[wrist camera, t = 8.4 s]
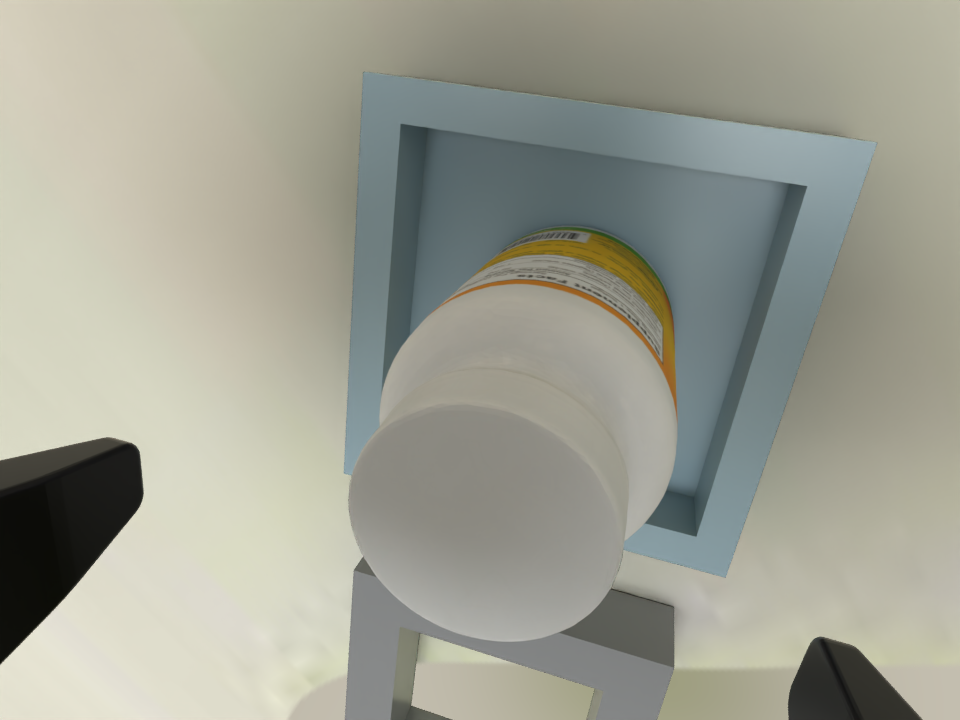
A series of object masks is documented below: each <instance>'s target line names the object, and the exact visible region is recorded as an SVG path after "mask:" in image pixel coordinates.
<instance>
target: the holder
mask: <svg viewBox="0 0 960 720" xmlns="http://www.w3.org/2000/svg"><path fill="white" fill-rule="evenodd" d="M419 633H422V634H425V635H428V636H431V637H435V638H438V639H441V640H444V641H447V642H450V643H453V644H457V645H460V646H463V647H466V648H469V649H472V650H475V651H478V652H482V653H485V654H488V655H491V656H494V657H497V658H500V659H504V660H507V661H510V662H513V663H516V664H519V665H522V666H526V667H529V668H532V669H535V670H538V671H542V672H544V673H548V674H551V675H554V676H557V677H560V678H563V679H566V680H570V681H573V682H576V683H579V684H582V685H585V686H589V687H592V688H595V690H594V694H593V698H592V701H591V705H590V709H589V712H588V716H587V720H657V718H658V715H659V712H660V709H661V706H662V703H663V700H664V697H665V694H666V691H667V688H668V685H669V682H670V679H671V676H672V673H673V670H674V607H671V606H668V605H664V604H661V603H657V602H654V601H650V600H647V599H643V598H640V597H636V596H633V595H629V594H626V593H622V592H619V591H615V590H612V589H610V590H609V592H608V593H607V595H606V596H605V598H604V599H603V600H602V601H601V603H600V604H599V605H598V606H597V607H596V608H595V609H594V610H593V611H592V612H591V613H590V614H589V615H588V616H586V617H585V618H584V619H582V620H581V621H579V622H578V623H577V624H575V625H574V626H572V627H570V628H568V629H565V630H563V631H561V632H558V633H555V634H553V635H550V636H547V637H543V638H539V639H534V640H528V641H516V642H501V641H490V640H483V639H478V638H473V637H469V636H465V635H461V634H458V633H455V632H452V631H450V630H447V629H445V628H442V627H440V626H438V625H436V624H434V623H432V622H430V621H428V620H426V619H425V618H423V617H421V616H420V615H418V614H417V613H415V612H414V611H412V610H411V609H409V608H408V607H407V606H406V605H404V604H403V603H402V602H401V601H399V600H398V599H397V598H396V597H395V596H394V595H393V594H392V593H391V592H390V591H389V590H388V589H387V588H386V587H385V586H384V585H383V584H382V583H381V581H380V580H379V579H378V578H377V577H376V575H375V574H374V572H373V571H372V569H371V568H370V566H369V565H368V563H367V562H366V560H365V559H364V557H363V558H362V559H361V561H360V562H359V564H358V565H357V566H356V568H355V569H354V576H353V593H352V610H351V626H350V643H349V660H348V677H347V694H346V710H345V720H451V719H448V718H445V717H443V716H440V715H437V714H434V713H431V712H428V711H425V710H422V709H419V708H416V707H413V706H411V701H412V694H413V685H414V676H415V668H416V659H417V651H418V642H419Z"/></svg>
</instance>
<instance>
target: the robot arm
mask: <svg viewBox="0 0 960 720" xmlns="http://www.w3.org/2000/svg"><path fill="white" fill-rule="evenodd" d="M143 494H144V490H143V479H142V469H141V459H140V452H139V450H138V448H137V447H136V446H135V445H134V444H132V443H129V442H126V441H122V440H119V439H115V438H108V437H106V438H101V439H96V440H92V441H87V442H82V443H78V444H73V445H69V446H64V447H60V448H55V449H51V450H46V451H42V452H37V453H32V454H28V455H23V456H19V457H14V458H10V459H5V460H1V461H0V664H1V663H2V662H3V661H4V660H5V659H6V658H7V657H8V656H9V655H10V654H11V653H12V652H13V651H14V650H15V649H16V648H17V647H18V646H19V645H20V644H21V643H22V642H23V641H24V640H25V639H26V638H27V637H28V636H29V635H30V634H31V633H32V632H33V631H34V630H35V629H36V628H37V627H38V626H39V625H40V624H41V623H42V622H43V621H44V620H45V619H46V617H47V616H48V615H49V614H50V613H51V612H52V611H53V610H54V609H55V608H56V607H57V606H58V605H59V604H60V603H61V602H62V601H63V600H64V598H65V597H66V596H67V595H68V594H69V593H70V591H71V590H72V589H73V588H74V587H75V586H76V584H77V583H78V582H79V581H80V580H81V578H82V577H83V576H84V575H85V574H86V572H87V571H88V570H89V569H90V567H91V566H92V565H93V564H94V563H95V561H96V560H97V559H98V558H99V557H100V555H101V554H102V553H103V552H104V550H105V549H106V548H107V547H108V546H109V544H110V543H111V542H112V541H113V539H114V538H115V537H116V536H117V535H118V533H119V532H120V531H121V530H122V528H123V527H124V526H125V525H126V524H127V522H128V521H129V520H130V519H131V518H132V516H133V515H134V514H135V513H136V511H137V510H138V508H139V507H140V505H141V502H142V499H143ZM788 715H789V720H922V718H921V717H920V716H919V715H918V714H917V713H916V712H915V711H914V710H913V709H912V707H911V706H910V705H909V704H908V703H907V702H906V701H905V700H904V699H903V698H902V697H901V695H900V694H899V693H898V692H897V691H896V690H895V689H894V688H893V687H892V686H891V684H890V683H889V682H888V681H887V680H886V679H885V678H884V677H883V676H882V675H881V674H880V672H879V671H878V670H877V669H876V668H875V667H874V666H873V665H872V664H871V663H870V661H869V660H868V659H867V658H866V657H865V656H864V655H863V654H862V653H861V652H860V651H859V650H858V649H857V648H856V647H854V646H852V645H850V644H846V643H843V642H839V641H836V640H832V639H828V638H825V637H817V638H815V639H814V640H813V641H812V642H811V643H810V645H809V647H808V649H807V651H806V654H805V656H804V658H803V661H802V663H801V665H800V667H799V670H798V672H797V674H796V677H795V679H794V681H793V683H792V686H791V689H790V693H789V701H788Z"/></svg>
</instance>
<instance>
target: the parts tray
mask: <svg viewBox="0 0 960 720" xmlns="http://www.w3.org/2000/svg"><path fill="white" fill-rule="evenodd" d="M876 146H877V142H871V141H866V140H860V139H855V138H849V137H843V136H835V135H828V134H821V133H813V132H806V131H799V130H792V129H784V128H777V127H770V126H763V125H755V124H748V123H741V122H734V121H726V120H719V119H712V118H705V117H697V116H690V115H683V114H675V113H668V112H661V111H654V110H646V109H639V108H632V107H625V106H617V105H610V104H603V103H596V102H588V101H581V100H574V99H567V98H559V97H552V96H545V95H537V94H530V93H523V92H516V91H508V90H501V89H494V88H487V87H479V86H472V85H465V84H458V83H450V82H443V81H436V80H429V79H421V78H414V77H407V76H398V75H389V74H380V73H371V72H363V90H362V111H361V131H360V152H359V173H358V193H357V214H356V235H355V255H354V276H353V296H352V317H351V338H350V358H349V379H348V400H347V420H346V441H345V462H344V474H348V475H351V476H352V473H353V469H354V466H355V463H356V461H357V459H358V457H359V455H360V453H361V451H362V449H363V447H364V446H365V444H366V443H367V441H368V440H369V439H370V438H371V436H372V435H373V434H374V433H375V431H376V430H377V429H378V428H379V427H380V422H379V415H380V402H381V396H382V391H383V387H384V383H385V380H386V377H387V374H388V371H389V369H390V367H391V365H392V362H393V360H394V358H395V357H396V355H397V353H398V352H399V350H400V348H401V347H402V345H403V344H404V343H405V342H406V340H407V339H408V338H409V336H410V335H411V334H412V333H413V332H414V331H415V329H416V328H417V327H418V326H419V325H420V324H421V323H422V322H423V321H424V319H425V318H426V317H427V316H428V315H429V314H431V313H432V312H433V311H434V310H435V309H436V308H437V307H439V306H440V305H441V304H442V303H443V302H444V301H445V300H447V299H448V298H449V297H450V296H451V295H452V294H453V293H454V292H455V291H457V290H458V289H459V288H460V287H461V286H462V285H463V284H464V283H465V282H467V281H468V280H469V279H470V278H471V277H472V276H473V275H474V274H475V273H477V272H478V271H479V270H480V269H481V268H482V267H483V266H484V265H485V264H486V263H487V262H488V261H490V260H491V259H492V258H493V257H494V256H495V255H496V254H498V253H499V252H500V251H501V250H502V249H504V248H505V247H506V246H508V245H509V244H511V243H512V242H514V241H516V240H517V239H519V238H521V237H523V236H525V235H527V234H529V233H532V232H534V231H537V230H540V229H544V228H548V227H554V226H583V227H590V228H594V229H598V230H601V231H605V232H608V233H610V234H612V235H615V236H617V237H618V238H620V239H622V240H624V241H625V242H627V243H628V244H630V245H631V246H633V247H634V248H635V249H636V250H637V251H639V252H640V253H641V254H642V255H643V256H644V257H645V258H646V259H647V260H648V261H649V263H650V264H651V265H652V266H653V268H654V269H655V270H656V272H657V273H658V275H659V277H660V278H661V280H662V282H663V284H664V286H665V288H666V291H667V293H668V296H669V299H670V303H671V308H672V313H673V321H674V337H675V370H676V397H677V418H678V423H677V446H676V457H675V463H674V468H673V472H672V475H671V478H670V481H669V484H668V487H667V489H666V492H665V494H664V496H663V498H662V499H661V501H660V503H659V505H658V506H657V508H656V509H655V511H654V512H653V513H652V515H651V516H650V517H649V518H648V520H647V521H646V522H645V523H644V524H643V526H642V527H641V528H639V529H638V530H637V531H636V532H635V533H634V534H633V535H632V536H630V537H629V538H628V539H627V540H625V541H624V547H623V550H626V551H630V552H633V553H637V554H641V555H644V556H648V557H652V558H655V559H659V560H663V561H666V562H670V563H674V564H677V565H681V566H685V567H688V568H692V569H696V570H699V571H703V572H707V573H710V574H714V575H718V576H721V577H725V578H726V575H727V572H728V569H729V566H730V563H731V561H732V558H733V555H734V552H735V549H736V546H737V543H738V540H739V538H740V535H741V532H742V529H743V526H744V523H745V520H746V518H747V515H748V512H749V509H750V506H751V503H752V500H753V498H754V495H755V492H756V489H757V486H758V483H759V480H760V478H761V475H762V472H763V469H764V466H765V463H766V460H767V458H768V455H769V452H770V449H771V446H772V443H773V440H774V437H775V435H776V432H777V429H778V426H779V423H780V420H781V417H782V415H783V412H784V409H785V406H786V403H787V400H788V397H789V395H790V392H791V389H792V386H793V383H794V380H795V377H796V375H797V372H798V369H799V366H800V363H801V360H802V357H803V355H804V352H805V349H806V346H807V343H808V340H809V337H810V334H811V332H812V329H813V326H814V323H815V320H816V317H817V314H818V312H819V309H820V306H821V303H822V300H823V297H824V294H825V292H826V289H827V286H828V283H829V280H830V277H831V274H832V272H833V269H834V266H835V263H836V260H837V257H838V254H839V252H840V249H841V246H842V243H843V240H844V237H845V234H846V231H847V229H848V226H849V223H850V220H851V217H852V214H853V211H854V209H855V206H856V203H857V200H858V197H859V194H860V191H861V189H862V186H863V183H864V180H865V177H866V174H867V171H868V169H869V166H870V163H871V160H872V157H873V154H874V151H875V149H876Z"/></svg>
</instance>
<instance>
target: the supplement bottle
mask: <svg viewBox="0 0 960 720" xmlns="http://www.w3.org/2000/svg"><path fill="white" fill-rule="evenodd" d="M379 422H380V427H379V428H378V429H377V430H376V431H375V433H374V434H373V435H372V436H371V438H370V439H369V440H368V441H367V443H366V444H365V446H364V447H363V449H362V451H361V453H360V455H359V457H358V459H357V461H356V463H355V466H354V469H353V473H352V476H351V480H350V486H349V514H350V520H351V526H352V529H353V532H354V536H355V539H356V541H357V544H358V546H359V548H360V551H361V553H362V555H363V557H364V559H365V560H366V562H367V563H368V565H369V566H370V568H371V569H372V571H373V572H374V574H375V575H376V577H377V578H378V579H379V580H380V581H381V583H382V584H383V585H384V586H385V587H386V588H387V589H388V590H389V591H390V592H391V593H392V594H393V595H394V596H395V597H396V598H397V599H398V600H399V601H401V602H402V603H403V604H404V605H406V606H407V607H408V608H409V609H411V610H412V611H414V612H415V613H417V614H418V615H420V616H421V617H423V618H425V619H426V620H428V621H430V622H432V623H434V624H436V625H438V626H440V627H442V628H445V629H447V630H450V631H452V632H455V633H458V634H461V635H465V636H469V637H473V638H478V639H483V640H490V641H501V642H516V641H528V640H534V639H539V638H543V637H547V636H550V635H553V634H555V633H558V632H561V631H563V630H565V629H568V628H570V627H572V626H574V625H575V624H577V623H578V622H579V621H581V620H582V619H584V618H585V617H586V616H588V615H589V614H590V613H591V612H592V611H593V610H594V609H595V608H596V607H597V606H598V605H599V604H600V603H601V601H602V600H603V599H604V598H605V596H606V595H607V593H608V592H609V590H610V589H611V587H612V585H613V582H614V580H615V578H616V575H617V573H618V571H619V568H620V564H621V560H622V556H623V547H624V541H625V540H627V539H628V538H629V537H630V536H632V535H633V534H634V533H635V532H636V531H637V530H638V529H639V528H641V527H642V526H643V524H644V523H645V522H646V521H647V520H648V518H649V517H650V516H651V515H652V513H653V512H654V511H655V509H656V508H657V506H658V505H659V503H660V501H661V499H662V498H663V496H664V494H665V492H666V489H667V487H668V484H669V481H670V478H671V475H672V472H673V468H674V463H675V457H676V446H677V423H678V418H677V397H676V370H675V337H674V321H673V313H672V308H671V303H670V299H669V296H668V293H667V291H666V288H665V286H664V284H663V282H662V280H661V278H660V277H659V275H658V273H657V272H656V270H655V269H654V268H653V266H652V265H651V264H650V263H649V261H648V260H647V259H646V258H645V257H644V256H643V255H642V254H641V253H640V252H639V251H637V250H636V249H635V248H634V247H633V246H631V245H630V244H628V243H627V242H625V241H624V240H622V239H620V238H618V237H617V236H615V235H612V234H610V233H608V232H605V231H601V230H598V229H594V228H590V227H583V226H554V227H548V228H544V229H540V230H537V231H534V232H532V233H529V234H527V235H525V236H523V237H521V238H519V239H517V240H516V241H514V242H512V243H511V244H509V245H508V246H506V247H505V248H504V249H502V250H501V251H500V252H499V253H498V254H496V255H495V256H494V257H493V258H492V259H491V260H490V261H488V262H487V263H486V264H485V265H484V266H483V267H482V268H481V269H480V270H479V271H478V272H477V273H475V274H474V275H473V276H472V277H471V278H470V279H469V280H468V281H467V282H465V283H464V284H463V285H462V286H461V287H460V288H459V289H458V290H457V291H455V292H454V293H453V294H452V295H451V296H450V297H449V298H448V299H447V300H445V301H444V302H443V303H442V304H441V305H440V306H439V307H437V308H436V309H435V310H434V311H433V312H432V313H431V314H429V315H428V316H427V317H426V318H425V319H424V321H423V322H422V323H421V324H420V325H419V326H418V327H417V328H416V329H415V331H414V332H413V333H412V334H411V335H410V336H409V338H408V339H407V340H406V342H405V343H404V344H403V345H402V347H401V348H400V350H399V352H398V353H397V355H396V357H395V358H394V360H393V362H392V365H391V367H390V369H389V371H388V374H387V377H386V380H385V383H384V387H383V391H382V396H381V402H380V415H379Z"/></svg>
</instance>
